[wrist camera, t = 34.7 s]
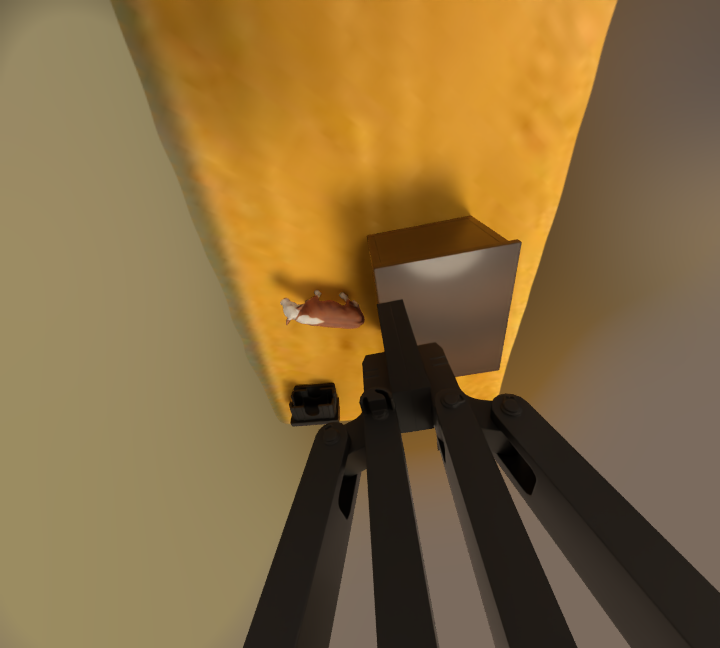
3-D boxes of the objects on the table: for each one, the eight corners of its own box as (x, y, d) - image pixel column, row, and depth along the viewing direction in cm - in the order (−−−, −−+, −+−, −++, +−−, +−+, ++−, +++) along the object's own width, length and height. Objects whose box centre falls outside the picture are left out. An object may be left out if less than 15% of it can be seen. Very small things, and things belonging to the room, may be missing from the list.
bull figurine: (288, 278, 47) (278, 303, 40) (365, 295, 49) (368, 321, 42) (285, 300, 49) (275, 327, 42) (358, 315, 51) (360, 343, 45)
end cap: (297, 406, 65) (293, 432, 60) (291, 385, 61) (285, 411, 56) (340, 403, 65) (339, 429, 60) (336, 382, 61) (335, 407, 56)
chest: (366, 235, 43) (373, 269, 32) (471, 215, 42) (513, 244, 31) (382, 332, 54) (391, 382, 43) (466, 318, 53) (496, 365, 42)
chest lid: (372, 265, 31) (373, 268, 31) (517, 239, 30) (522, 242, 30) (391, 382, 43) (392, 386, 42) (496, 366, 42) (499, 370, 41)
